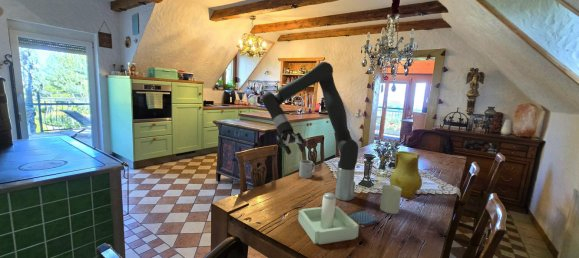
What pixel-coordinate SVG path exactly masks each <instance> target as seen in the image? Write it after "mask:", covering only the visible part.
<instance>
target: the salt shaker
mask: <svg viewBox="0 0 579 258" xmlns="http://www.w3.org/2000/svg"><path fill="white" fill-rule="evenodd" d="M336 201H337V198H336V197H335V194H334V193H332V192H325V193H324V195H322V203H321V207H322V211H321V221H320V226H321V228H323V229H330V228H333V222H334V212H335V206H336V203H337V202H336Z"/></svg>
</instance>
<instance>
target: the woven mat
mask: <svg viewBox="0 0 579 258" xmlns="http://www.w3.org/2000/svg"><path fill="white" fill-rule="evenodd" d="M347 215H348V216H349V217H350V218H351V219H352V220H353V221H354V222H356V223H357V224H358V225H359V227H361V228H367V227H368V226H372V225H374V224H378V223H379V221H380V220H379V219H377V217H374V216H372V215H371V214H370V213H368V212H366V211H365V210H361V211H357V212H353V213H351V214H350V213H349V214H347Z"/></svg>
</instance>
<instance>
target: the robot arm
mask: <svg viewBox="0 0 579 258" xmlns="http://www.w3.org/2000/svg"><path fill="white" fill-rule="evenodd" d="M333 75H334V68H333V66H332V64H331V63H329V62H327V61H321V62H319V63H318V64H316V66H315V67H313V68H312V69H311V70H310V71H309V72H307V73H305V74H303V75H302V76H299V77H298V78H295V79H293V80H291V81H290V82H287V83H286V84H284V85H283V86H281V87H279V88H278V89H277V90H278V92H277V93H276V94H274V93H273V92H271V91H266V92H265V93H263V94H262V95H261V101H262V104H263V105H264V107H265V109H266V110H267V112H268V113H269V115H270V118H271V119H272V122H273V124H274V127H275V129H276V131H277V133H278V134H277V135H276V137H275V139H276V141H277V143H278V146H279V148H280V149H282V148H283V149H284V151H285V152H286V154H287V155H288V156H289V155H291V154H292V151H291V148H290V146H289V144H294V145H296V146H298V149H299V150H300V152H301V153H304V152H305V150H306V149H305V146H304V143H305V140H304V138H303V136H302V135H301V133H300V132H297V133H295V132H294V127H293V126H292V124H291V122H290V120H289V118H288V117H287V115H286V113H285V111H284V109H283V108H282V107H281V105H282V104H283V103H285V102H286V101H287V100H288V99H290V98H292V97H293V96H296V95H297V94H299V93H301V92H302V91H304V90H305V89H307V88H309V87H311V86H312V85H315V84H317V83H318V84H319V86H320V89H321V92H322V95H323V96H322V97H323V101H324V106H325V109H326V112H327V115H328V118H329V121H330V123H331V126H332V129H333V130H334V133H335V138H336V143H337V148H338V150H339V151H340V155H339V161H338V162H337V170H336V180H335V181H336V182H335V192H334V193H335V194H334V195H335V197H336V200H337V199H338V200H340V201H345V202H348V201H352V199H353V200H354V199H355V198H354V197H355V188H356V181H354V180H355V172H356V166H357V162H358V158H359V157H358V155H359V145H358V142H357V141H356V140H354V139H353V138H352V136H351V133H350V130H349V129H348V128H349V127H348V121H347V120H348V117H347V112H346V108H345V105H344V102H343V99H342V97H341V95H340V93H339V91H338V89H337V87H336V83H335V81H334V80H335V79H334V76H333Z"/></svg>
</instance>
